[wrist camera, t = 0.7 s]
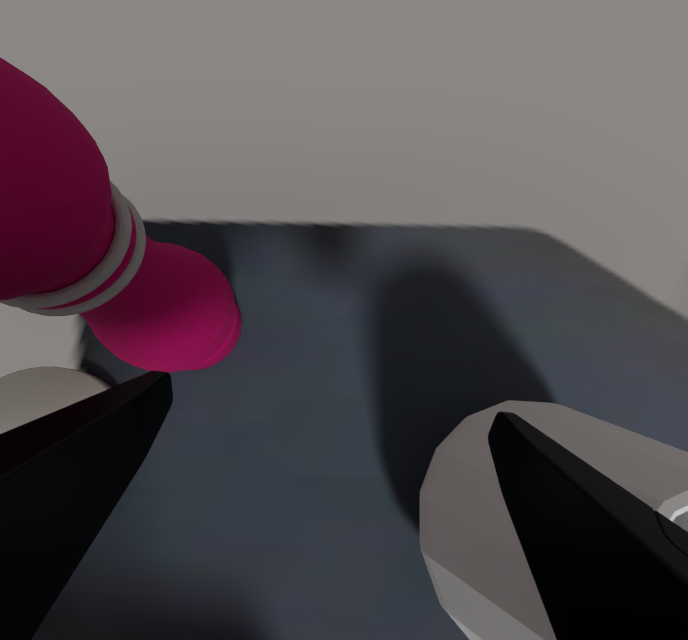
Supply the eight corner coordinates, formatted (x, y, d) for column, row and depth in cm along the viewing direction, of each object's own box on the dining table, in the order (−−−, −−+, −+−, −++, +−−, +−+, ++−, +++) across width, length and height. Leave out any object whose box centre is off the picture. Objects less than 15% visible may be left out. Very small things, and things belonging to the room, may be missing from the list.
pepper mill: (158, 271, 24) (-484, -256, 5) (258, 285, 24) (24, -160, 5) (130, 370, 22) (-1068, 163, 3) (237, 384, 23) (-241, 275, 3)
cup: (380, 594, 20) (499, 971, 7) (421, 378, 24) (556, 346, 10) (591, 649, 20) (1120, 1128, 7) (602, 426, 24) (973, 457, 10)
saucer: (126, 547, 20) (117, 554, 19) (-76, 566, 19) (-97, 575, 18) (142, 363, 23) (133, 362, 22) (-36, 372, 22) (-52, 371, 21)
